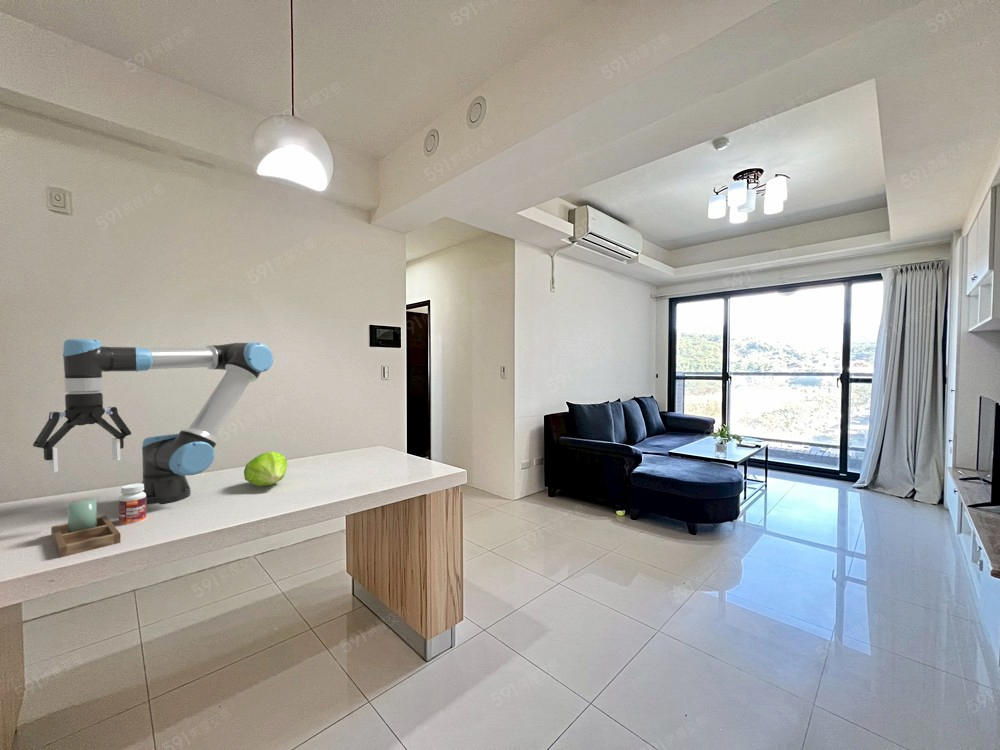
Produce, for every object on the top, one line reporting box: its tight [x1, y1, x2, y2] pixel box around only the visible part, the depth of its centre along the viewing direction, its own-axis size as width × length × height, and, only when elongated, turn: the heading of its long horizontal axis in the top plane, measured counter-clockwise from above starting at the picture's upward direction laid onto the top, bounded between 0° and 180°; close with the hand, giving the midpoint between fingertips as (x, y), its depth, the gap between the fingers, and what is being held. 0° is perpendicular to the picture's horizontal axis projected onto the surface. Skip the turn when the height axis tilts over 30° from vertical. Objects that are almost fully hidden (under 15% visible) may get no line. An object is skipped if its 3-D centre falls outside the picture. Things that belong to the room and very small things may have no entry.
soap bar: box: [67, 498, 98, 533], centre depth 112 cm, size 6×6×9 cm
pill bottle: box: [118, 482, 147, 525], centre depth 122 cm, size 6×6×11 cm
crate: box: [50, 515, 121, 559], centre depth 109 cm, size 11×21×3 cm, turn 52°
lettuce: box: [243, 451, 288, 488], centre depth 161 cm, size 15×20×14 cm
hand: (86, 465), depth 116 cm, fingers open, 13 cm apart
